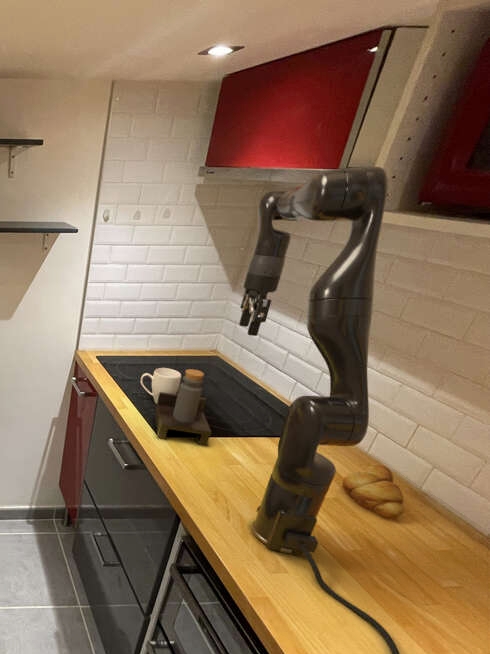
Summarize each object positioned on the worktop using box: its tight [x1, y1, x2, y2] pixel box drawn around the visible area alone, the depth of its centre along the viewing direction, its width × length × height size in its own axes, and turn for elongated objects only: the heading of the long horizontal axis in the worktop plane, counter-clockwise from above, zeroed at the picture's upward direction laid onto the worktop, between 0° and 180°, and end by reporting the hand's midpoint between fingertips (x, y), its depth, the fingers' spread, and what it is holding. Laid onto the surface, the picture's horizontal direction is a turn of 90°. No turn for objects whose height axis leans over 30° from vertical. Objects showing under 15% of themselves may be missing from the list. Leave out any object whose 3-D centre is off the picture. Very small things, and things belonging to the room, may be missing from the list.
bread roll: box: [342, 464, 405, 519], centre depth 105 cm, size 13×10×8 cm
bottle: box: [173, 368, 205, 423], centre depth 129 cm, size 6×6×15 cm
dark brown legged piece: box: [153, 392, 212, 447], centre depth 133 cm, size 14×13×9 cm
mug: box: [140, 367, 182, 405], centre depth 151 cm, size 12×8×11 cm
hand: (247, 330), depth 124 cm, fingers open, 8 cm apart
